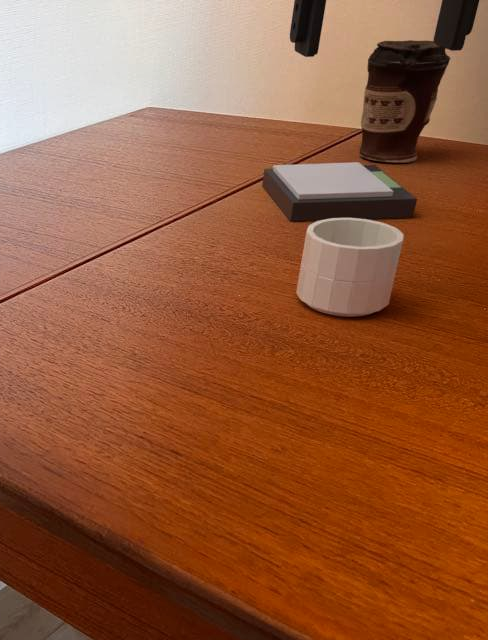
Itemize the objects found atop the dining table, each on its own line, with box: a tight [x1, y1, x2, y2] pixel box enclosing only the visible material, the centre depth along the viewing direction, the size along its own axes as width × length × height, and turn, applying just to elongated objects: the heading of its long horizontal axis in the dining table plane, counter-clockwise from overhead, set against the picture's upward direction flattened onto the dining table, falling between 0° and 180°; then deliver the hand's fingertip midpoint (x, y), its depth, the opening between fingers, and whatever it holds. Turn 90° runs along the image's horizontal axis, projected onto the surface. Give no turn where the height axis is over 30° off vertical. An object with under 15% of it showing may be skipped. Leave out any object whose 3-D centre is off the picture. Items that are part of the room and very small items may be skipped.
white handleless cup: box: [295, 218, 405, 318], centre depth 69 cm, size 7×7×6 cm
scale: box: [261, 161, 418, 223], centre depth 91 cm, size 12×12×3 cm
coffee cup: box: [359, 39, 451, 164], centre depth 101 cm, size 9×8×13 cm
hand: (375, 50), depth 60 cm, fingers open, 9 cm apart
